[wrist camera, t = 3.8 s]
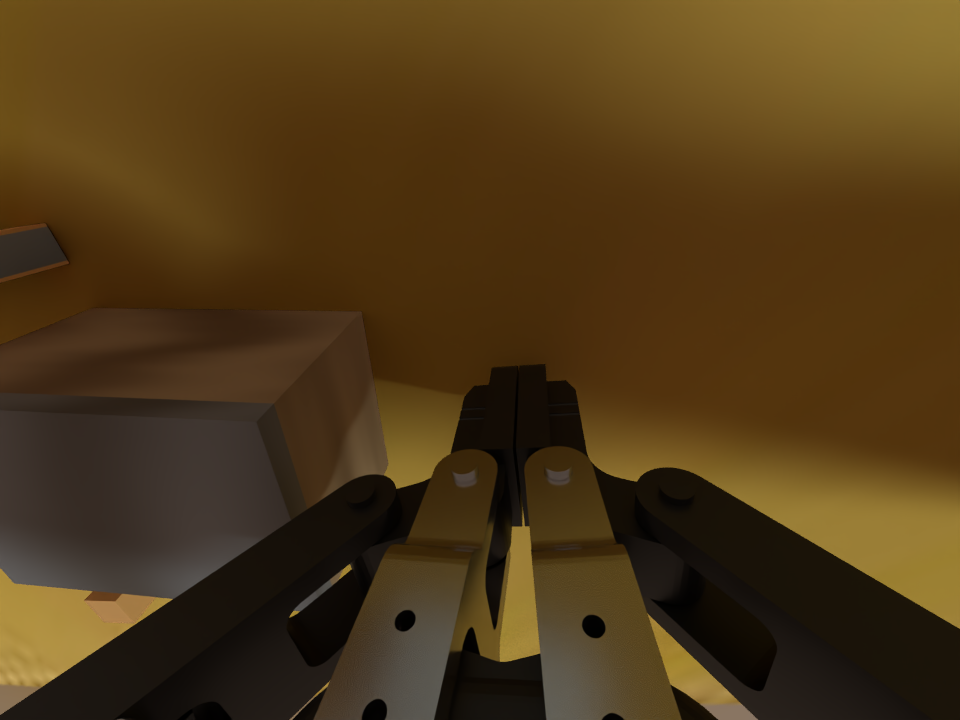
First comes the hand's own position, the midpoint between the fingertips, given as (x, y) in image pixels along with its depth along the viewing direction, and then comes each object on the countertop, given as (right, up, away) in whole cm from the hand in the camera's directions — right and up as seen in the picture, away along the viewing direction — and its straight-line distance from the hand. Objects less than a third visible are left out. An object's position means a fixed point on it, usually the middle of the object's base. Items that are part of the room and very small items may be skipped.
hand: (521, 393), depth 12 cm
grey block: (-9, 0, +3) cm, 9 cm away
